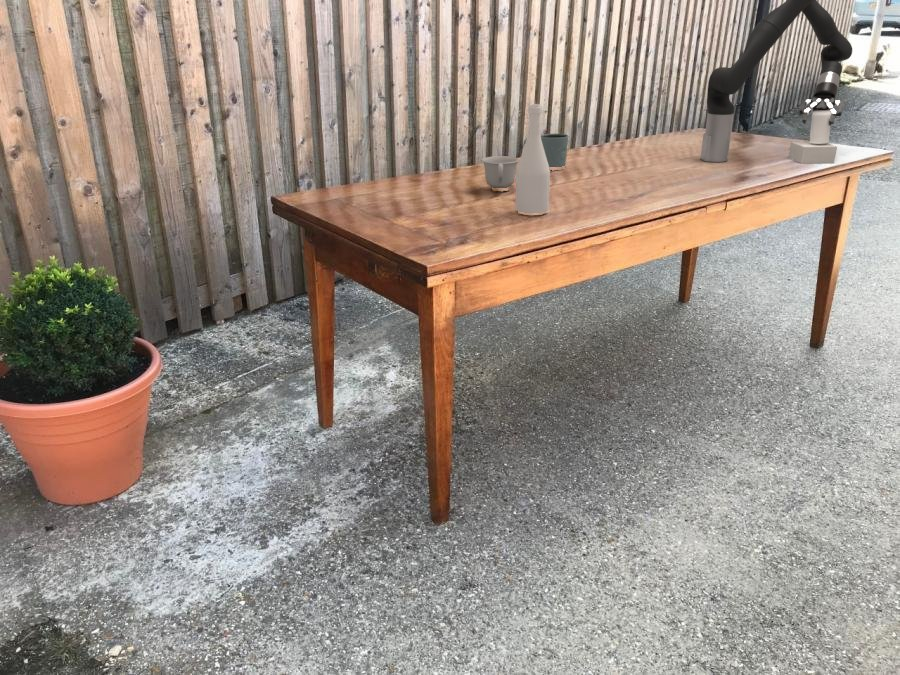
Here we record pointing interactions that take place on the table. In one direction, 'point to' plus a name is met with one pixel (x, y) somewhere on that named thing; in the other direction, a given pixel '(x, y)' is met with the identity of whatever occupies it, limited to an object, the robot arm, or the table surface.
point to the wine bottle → (533, 169)
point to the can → (820, 127)
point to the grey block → (812, 152)
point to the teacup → (500, 170)
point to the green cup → (555, 149)
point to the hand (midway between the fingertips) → (817, 123)
